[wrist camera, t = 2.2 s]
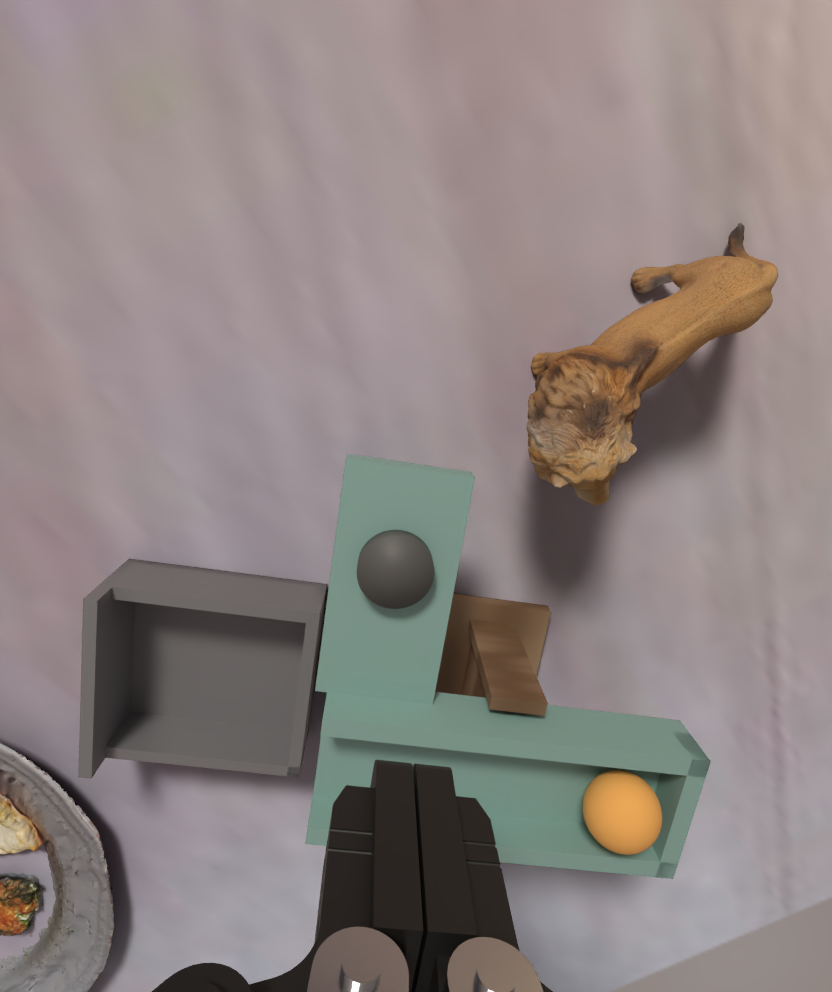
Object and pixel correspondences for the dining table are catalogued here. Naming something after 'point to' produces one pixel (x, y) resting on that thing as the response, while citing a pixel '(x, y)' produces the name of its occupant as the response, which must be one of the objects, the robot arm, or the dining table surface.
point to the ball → (622, 812)
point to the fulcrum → (495, 653)
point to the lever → (459, 718)
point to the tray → (198, 668)
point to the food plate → (76, 881)
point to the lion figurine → (635, 365)
